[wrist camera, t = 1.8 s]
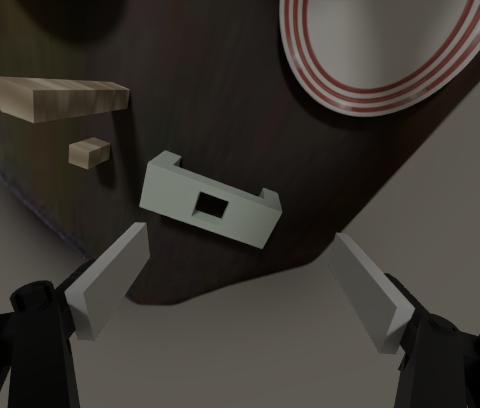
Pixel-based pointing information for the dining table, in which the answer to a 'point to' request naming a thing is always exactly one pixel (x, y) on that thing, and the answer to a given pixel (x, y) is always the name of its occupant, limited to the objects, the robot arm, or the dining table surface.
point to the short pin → (89, 152)
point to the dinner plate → (377, 50)
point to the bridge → (191, 184)
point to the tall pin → (59, 98)
